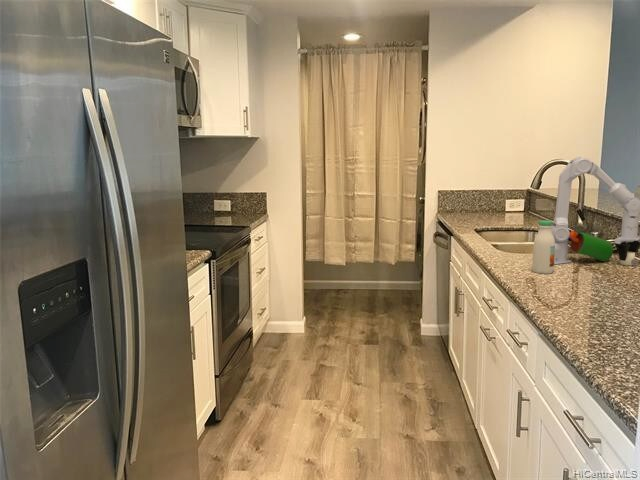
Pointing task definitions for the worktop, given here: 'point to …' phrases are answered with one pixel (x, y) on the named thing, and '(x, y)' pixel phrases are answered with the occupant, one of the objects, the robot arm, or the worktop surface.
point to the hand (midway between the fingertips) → (626, 259)
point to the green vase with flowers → (590, 245)
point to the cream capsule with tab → (630, 259)
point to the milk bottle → (544, 249)
